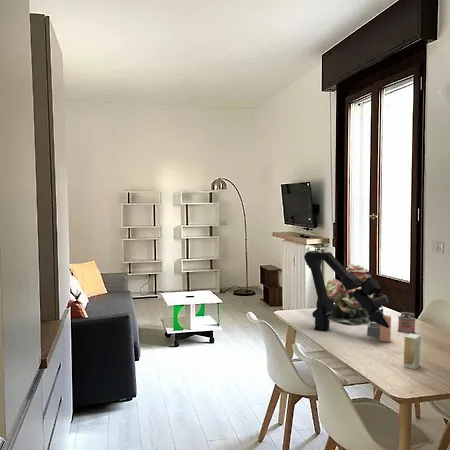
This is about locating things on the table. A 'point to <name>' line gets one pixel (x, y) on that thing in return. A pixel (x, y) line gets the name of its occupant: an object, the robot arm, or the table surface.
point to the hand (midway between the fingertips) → (388, 326)
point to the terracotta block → (385, 330)
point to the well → (373, 329)
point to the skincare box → (412, 351)
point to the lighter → (406, 323)
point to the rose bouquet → (347, 299)
